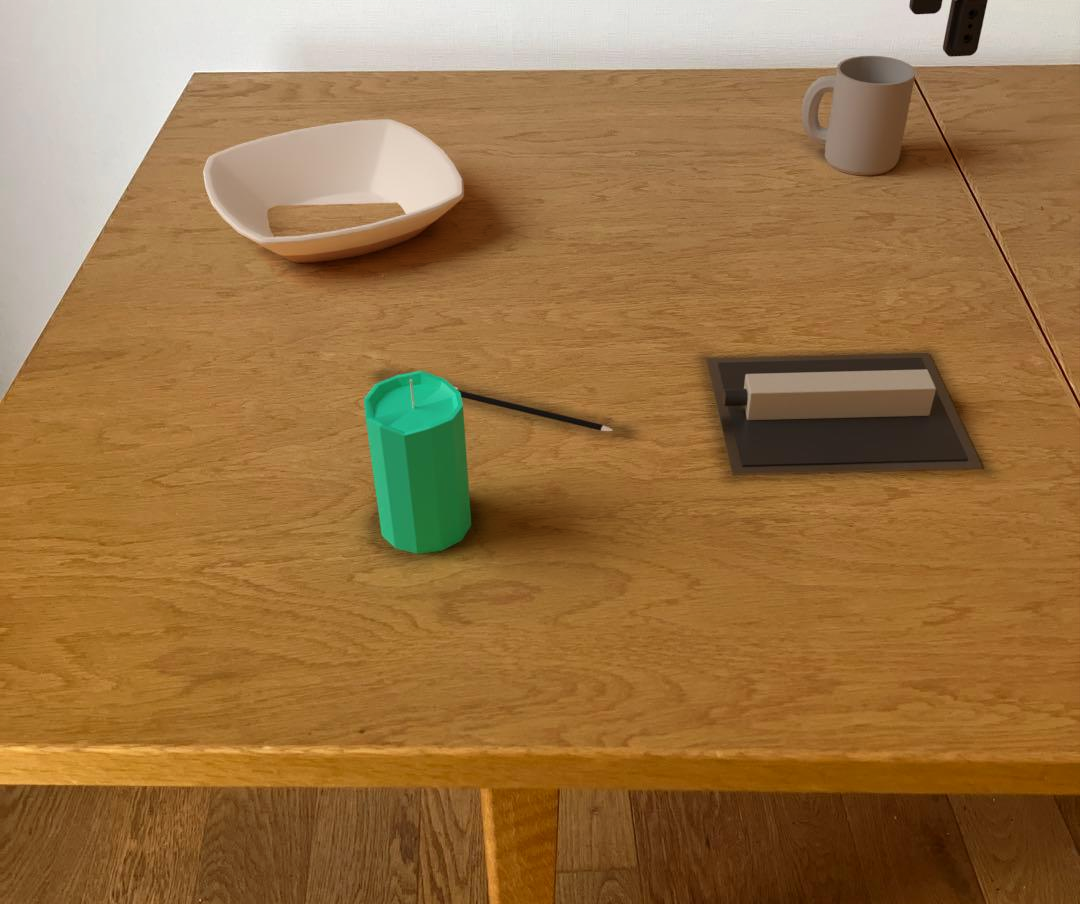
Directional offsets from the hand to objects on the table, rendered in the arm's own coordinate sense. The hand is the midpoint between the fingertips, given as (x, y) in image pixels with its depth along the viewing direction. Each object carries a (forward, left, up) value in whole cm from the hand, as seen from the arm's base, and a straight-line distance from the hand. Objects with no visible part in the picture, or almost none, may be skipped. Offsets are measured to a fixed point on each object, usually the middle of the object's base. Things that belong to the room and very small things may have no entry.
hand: (940, 32), depth 86 cm
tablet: (+8, +18, -21) cm, 29 cm away
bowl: (+47, -13, -21) cm, 53 cm away
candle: (+37, +29, -21) cm, 52 cm away
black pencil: (+32, +16, -21) cm, 42 cm away
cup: (-2, -25, -21) cm, 33 cm away
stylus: (+8, +18, -20) cm, 28 cm away
